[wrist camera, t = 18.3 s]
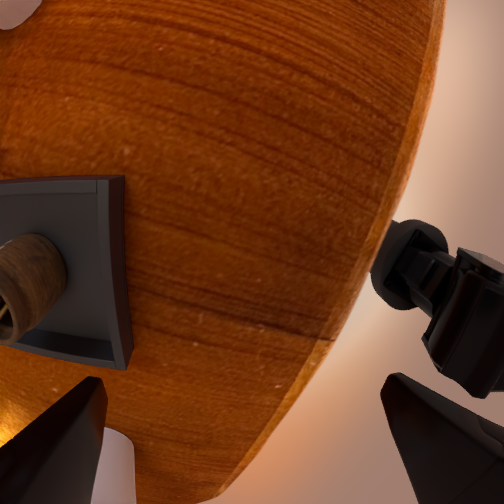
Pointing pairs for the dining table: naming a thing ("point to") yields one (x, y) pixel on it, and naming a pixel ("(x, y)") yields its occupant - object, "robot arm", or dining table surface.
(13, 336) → the utensil holder
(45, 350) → the baking tray
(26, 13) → the shot glass
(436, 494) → the robot arm
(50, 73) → the dining table surface
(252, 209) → the dining table surface
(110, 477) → the foam cup
